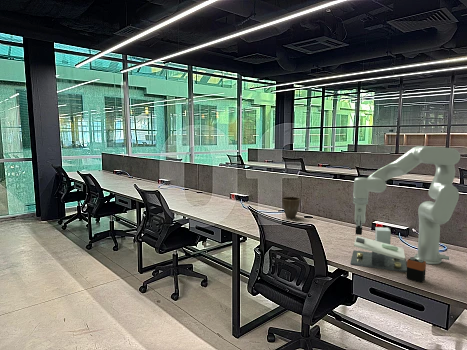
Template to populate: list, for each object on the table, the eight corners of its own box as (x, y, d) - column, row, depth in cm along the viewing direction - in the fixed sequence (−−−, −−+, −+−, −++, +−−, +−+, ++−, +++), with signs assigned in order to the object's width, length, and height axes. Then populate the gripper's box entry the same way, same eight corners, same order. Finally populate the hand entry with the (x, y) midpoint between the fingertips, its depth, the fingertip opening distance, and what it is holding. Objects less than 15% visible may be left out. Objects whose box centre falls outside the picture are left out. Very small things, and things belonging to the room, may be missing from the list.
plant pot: (289, 214, 277) (289, 196, 275) (303, 217, 265) (303, 198, 264) (278, 217, 267) (278, 198, 266) (291, 220, 256) (292, 200, 254)
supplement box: (387, 248, 190) (388, 227, 188) (390, 252, 182) (391, 231, 181) (374, 247, 192) (375, 226, 190) (376, 251, 185) (376, 230, 183)
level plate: (402, 252, 172) (404, 244, 171) (404, 262, 157) (406, 254, 157) (355, 239, 181) (357, 232, 180) (353, 248, 167) (355, 240, 166)
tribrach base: (404, 258, 173) (404, 248, 173) (407, 272, 155) (407, 261, 155) (353, 251, 184) (353, 242, 184) (350, 264, 166) (350, 254, 166)
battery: (409, 275, 152) (410, 255, 151) (425, 280, 147) (426, 259, 146) (405, 278, 149) (406, 258, 148) (422, 283, 144) (423, 261, 143)
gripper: (367, 204, 162) (365, 239, 164) (368, 199, 175) (366, 231, 177) (351, 202, 165) (350, 237, 167) (354, 197, 178) (352, 229, 181)
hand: (358, 234), depth 172 cm, fingers closed
